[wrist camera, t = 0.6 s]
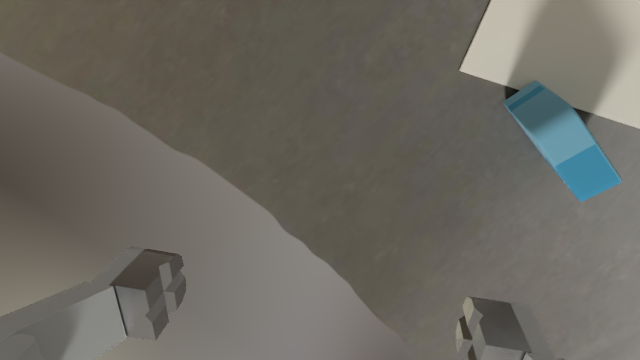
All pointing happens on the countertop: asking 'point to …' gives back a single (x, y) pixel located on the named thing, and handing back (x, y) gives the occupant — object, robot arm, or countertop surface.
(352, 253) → the countertop surface
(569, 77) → the mat
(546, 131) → the data package
